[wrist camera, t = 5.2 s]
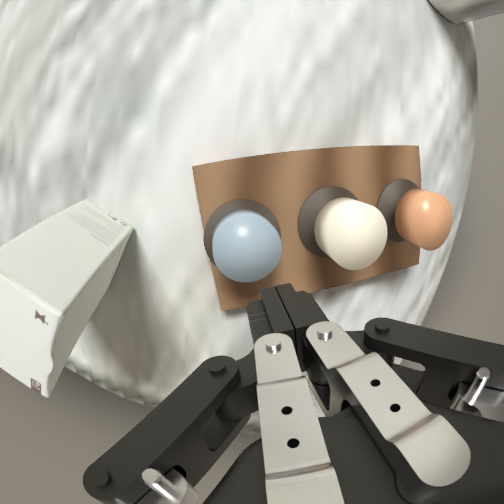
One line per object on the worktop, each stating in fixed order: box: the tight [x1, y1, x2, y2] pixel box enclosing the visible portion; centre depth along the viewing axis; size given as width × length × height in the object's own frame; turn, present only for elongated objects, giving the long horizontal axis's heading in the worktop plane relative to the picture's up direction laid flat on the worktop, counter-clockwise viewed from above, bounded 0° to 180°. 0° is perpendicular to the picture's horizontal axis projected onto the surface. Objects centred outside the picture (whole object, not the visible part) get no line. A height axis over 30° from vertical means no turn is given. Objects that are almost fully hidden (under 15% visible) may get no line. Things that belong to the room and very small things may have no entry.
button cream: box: [314, 197, 387, 270], centre depth 20 cm, size 5×5×3 cm
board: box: [192, 145, 421, 311], centre depth 24 cm, size 22×13×2 cm, turn 99°
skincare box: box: [0, 199, 134, 398], centre depth 16 cm, size 8×6×15 cm
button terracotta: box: [395, 189, 452, 251], centre depth 21 cm, size 5×5×3 cm
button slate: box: [212, 209, 282, 282], centre depth 21 cm, size 5×5×3 cm
